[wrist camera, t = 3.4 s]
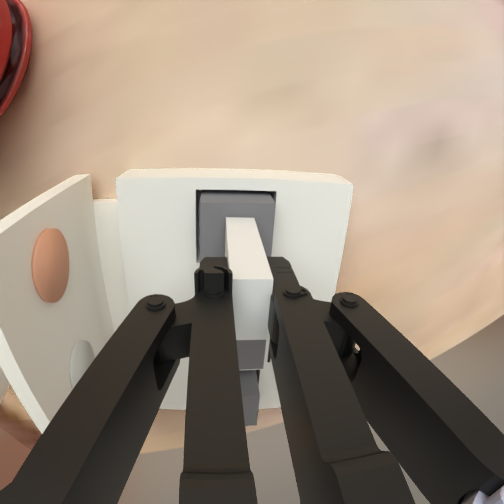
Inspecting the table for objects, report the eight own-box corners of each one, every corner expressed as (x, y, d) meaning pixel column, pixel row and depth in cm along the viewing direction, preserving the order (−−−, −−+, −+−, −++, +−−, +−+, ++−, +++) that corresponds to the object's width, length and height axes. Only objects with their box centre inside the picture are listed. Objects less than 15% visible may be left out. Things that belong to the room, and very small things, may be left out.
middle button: (202, 295, 21) (200, 323, 18) (261, 295, 22) (268, 322, 19) (203, 341, 23) (203, 369, 20) (258, 340, 23) (263, 368, 21)
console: (128, 169, 20) (115, 178, 17) (336, 174, 21) (353, 184, 18) (155, 384, 28) (152, 408, 25) (300, 382, 30) (306, 405, 27)
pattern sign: (58, 173, 19) (-70, 252, 7) (121, 169, 19) (14, 253, 8) (103, 380, 27) (73, 494, 16) (151, 384, 28) (135, 505, 16)
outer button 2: (205, 368, 24) (205, 397, 21) (255, 368, 25) (259, 396, 22) (207, 399, 26) (207, 426, 23) (252, 398, 26) (256, 425, 24)
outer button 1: (202, 188, 19) (199, 202, 16) (267, 189, 20) (275, 203, 17) (202, 248, 21) (199, 270, 18) (263, 248, 21) (269, 270, 19)
